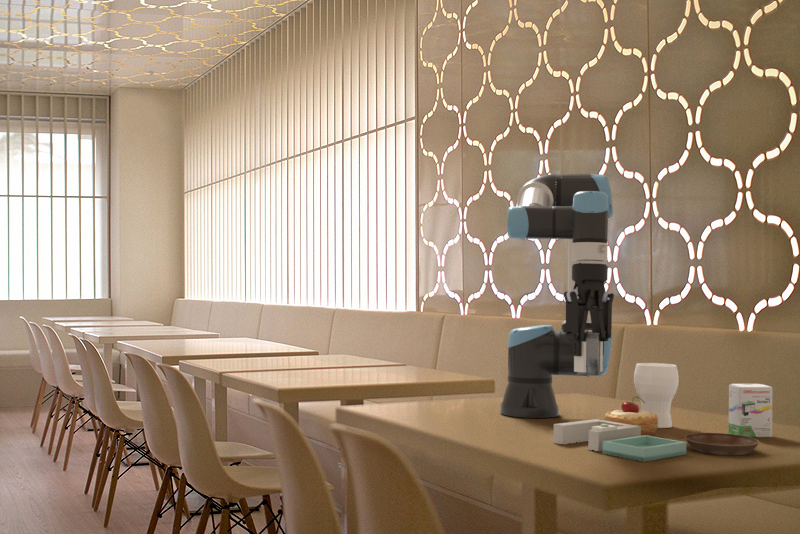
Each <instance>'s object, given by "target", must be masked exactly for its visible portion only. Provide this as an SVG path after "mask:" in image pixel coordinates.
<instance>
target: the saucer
mask: <svg viewBox="0 0 800 534" xmlns="http://www.w3.org/2000/svg"><path fill="white" fill-rule="evenodd" d="M684 439H685V440H686V441H685V442H686V443H687V444H689V446H690V447H691V448H692V449H693V450H695V451H697V452H700V453H704V454H710V455H711V454H712V455H719V456H743V455H747V454H749V453H751V452H752V451H754V450H755V449H756V448H757V447H758V445H760V441H759V440H758V439H756V438H755V437H747V436H741V435H734V434H729V433H723V432H722V433H720V432H698V433H697V432H696V433H695V432H694V433H688V434H686V435H684Z"/></svg>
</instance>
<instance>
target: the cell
mask: <svg viewBox="0 0 800 534" xmlns="http://www.w3.org/2000/svg"><path fill="white" fill-rule="evenodd" d="M578 335H579V334H578ZM583 342H586V372H577V374H578V375H599V333H592V330H585V334H584V339H583Z"/></svg>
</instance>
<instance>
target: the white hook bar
mask: <svg viewBox="0 0 800 534" xmlns="http://www.w3.org/2000/svg"><path fill="white" fill-rule="evenodd" d="M636 436H641V426H635V425H629V424H623V423H617V422H611V421H605V419H604V420H603V419H598V418H594V419H587V420H578V421H569V422H560V423H554V424H553V438H552V440H553V443H554V444H556V445H557V444H558V445H562V444H563V445H568V444H569V443H570V444H577V443H582V442H583V443H584V442H588V443H587V444H588V446H587V450H589V451H592V450H594V451H593V452H597V451H599V452H602V450H603V441H608V440H615V439H622V438H629V437H636ZM576 442H577V443H576Z"/></svg>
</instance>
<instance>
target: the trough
mask: <svg viewBox="0 0 800 534" xmlns="http://www.w3.org/2000/svg"><path fill="white" fill-rule="evenodd" d="M601 453H603V454H602V455H607V454H608V456H612V455H614V456H613V457H617V456H619V457H618V458H622V457H624V458H623V459H627V458H628V460H632V461H637V460H638V462H642V463H644V462H651V461H657V460H663V459H668V458H674V457H680V456H685V455H687V441H681V440H678V439H670V438H663V437H658V436H654V435H653V436H647V435H643V436H636V437H629V438H622V439H615V440H608V441H603V450H602V451H601Z"/></svg>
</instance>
